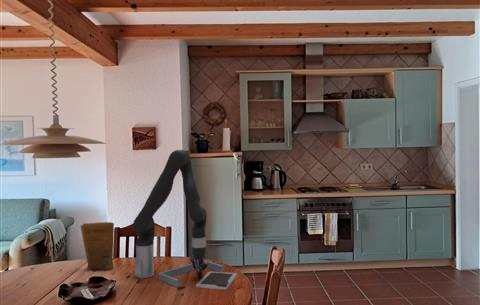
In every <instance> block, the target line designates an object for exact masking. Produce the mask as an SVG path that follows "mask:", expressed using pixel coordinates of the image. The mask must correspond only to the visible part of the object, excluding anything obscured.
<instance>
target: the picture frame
mask: <svg viewBox="0 0 480 305" xmlns="http://www.w3.org/2000/svg"><path fill="white" fill-rule="evenodd" d="M237 276H238V273H237V272H226V271H225V272H224V271H223V272H219V271H208V272H207V273H206V274H205V275H204V276H202V278H200V280H199V281H198V282H197V283H196V284H195V288H199V289H208V290H209V289H212V290H213V289H214V290H222V291H223V290H225V291H226V290H228V288H229V287H230V285H231V284H232V283H233V281H234V280H236V278H237Z"/></svg>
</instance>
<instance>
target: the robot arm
mask: <svg viewBox="0 0 480 305" xmlns="http://www.w3.org/2000/svg"><path fill="white" fill-rule="evenodd" d="M190 156H191V155H190V154H189V152H188V151H187V150H185V149H176V150H174V151H172V152H171V153H170V154H169V156H168V158H167V160H166V163H165V166H164V168H163V170H162V172H161V174H160V175H159V177H158V178H157V181H156V183H154V186H153V188H152V189H151V191H150V193H149V195H148V197H147V199H146V200H145V203H144V205H143V207H142V209H141V210H139V212H138V214H137V216H136V217H135V218H134V220H133V223H132V229H133V231H134V232H135V233H136V234H138V236H137V238H136V240H135V250H136V251H135V253H136V255H135V256H136V258H134V273H135V274H134V276H135V277H137V278H139V279H146V278H151V277H153V276H154V275H155V262H154V261H155V259H154V258H155V257H154V256H155V255H154V239H155V234H156V233H155V230H156V229H155V228H156V226H155V220H154V215H155V214H156V213H157V211H158V210H159V209H160V208H161V207H162V206H163V204H164V203H165V202H166V201H167V200H168V198H169V196H170V194H171V192H172V189H173V185H174V180H175V179H176V175H177V174H178V172H179V171H180V173H181V177H182V187H183V189H182V190H183V194H184V195H185V196H184V197H185V199H186V203H187V208H188V209H187V210H188V215H189V217H190V219H191V221H192V222H193V226H192V228H191V254H192V258H190V260H189V261H190V262H191V264H192V265H193V267H194V269H195V270H196V278H197V279H202V278H203V271H205V270H206V269H207V265H208V262H206V261H207V260H206V254H207V239H206V225H207V218H208V217H207V216H208V214H207V211H206V209H205V208H204V207H202V206H201V205H200V202H201V197H200V194H199V191H198V188H197V185H196V183H195V178H194V177H195V176H194V174H193V168H192V162H191V157H190ZM205 260H206V261H205Z"/></svg>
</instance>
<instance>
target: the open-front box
mask: <svg viewBox="0 0 480 305" xmlns="http://www.w3.org/2000/svg"><path fill="white" fill-rule="evenodd" d="M205 261H206V262H208V265H207V267H206V269H207V268H208V269H209V270H213V271H215V272H224V265H222V264H218V263H216V262H212V261H210V260H206V259H205ZM195 270H196V269H194V267H193V265H192V263H189V264H186V265H182V266H179V267H178V266H177V267H176V268H172V269H169V270H165V271H161V272H158V280H159V281H161V282H163V283H165V284H168V285H171V286H173V287H175V288H179V287H180V282H179V281H180V280H179V279H177V278H175V277H176V276H178V275H182V274H185V273H189V272H192V271H195Z"/></svg>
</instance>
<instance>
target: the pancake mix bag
mask: <svg viewBox="0 0 480 305" xmlns="http://www.w3.org/2000/svg"><path fill="white" fill-rule="evenodd" d="M114 226H115V223H113V222H111V221H110V222H109V221H107V222H106V221H105V222H94V223H93V222H92V223H91V222H90V223H89V222H88V223H87V222H86V223H82V225H80V231H81V236H82V241H83V242H82V243H83V247H84V252H85V257H86V263H87V265H86V266H87V268H86V270H88V271H95V272H97V271H100V272H101V271H102V272H104V271H105V272H108V271H112V270H114V269H115V268H114V262H113V260H114V258H113V257H114V256H113V255H114V233H115V232H114V231H115V230H114V229H115V228H114Z"/></svg>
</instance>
